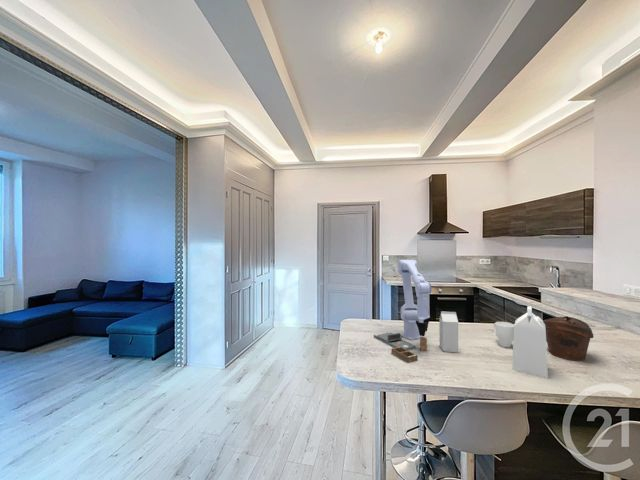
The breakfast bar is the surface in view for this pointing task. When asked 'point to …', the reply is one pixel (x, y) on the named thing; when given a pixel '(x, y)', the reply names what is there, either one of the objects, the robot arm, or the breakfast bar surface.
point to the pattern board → (398, 343)
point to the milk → (530, 345)
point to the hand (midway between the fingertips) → (423, 333)
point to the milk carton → (448, 331)
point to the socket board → (404, 354)
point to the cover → (390, 336)
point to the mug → (504, 333)
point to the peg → (423, 344)
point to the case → (568, 337)
